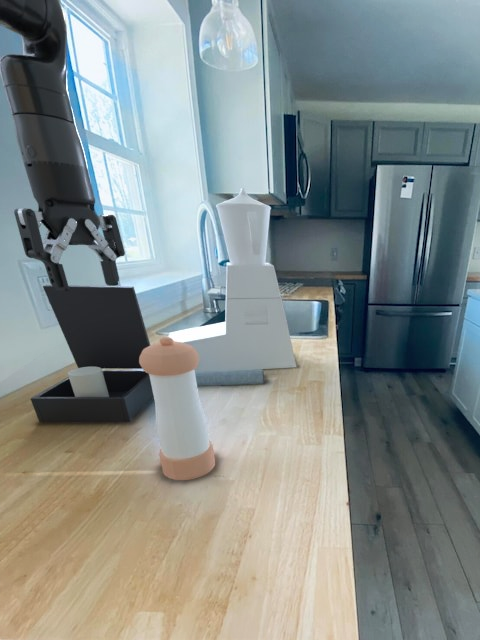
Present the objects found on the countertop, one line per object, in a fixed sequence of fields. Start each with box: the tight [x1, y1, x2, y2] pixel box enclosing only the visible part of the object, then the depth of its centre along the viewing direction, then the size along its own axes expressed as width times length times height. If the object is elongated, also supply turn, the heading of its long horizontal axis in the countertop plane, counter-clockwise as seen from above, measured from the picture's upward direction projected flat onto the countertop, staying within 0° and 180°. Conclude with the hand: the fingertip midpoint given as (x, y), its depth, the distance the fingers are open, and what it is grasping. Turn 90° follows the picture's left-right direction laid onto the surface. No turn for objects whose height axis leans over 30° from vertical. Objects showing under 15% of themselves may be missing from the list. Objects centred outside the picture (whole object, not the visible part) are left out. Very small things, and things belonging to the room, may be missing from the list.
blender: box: [167, 188, 297, 372], centre depth 90 cm, size 33×18×40 cm, turn 104°
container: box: [67, 367, 109, 397], centre depth 66 cm, size 5×5×8 cm
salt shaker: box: [139, 336, 216, 481], centre depth 49 cm, size 7×7×19 cm
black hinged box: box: [30, 369, 154, 424], centre depth 71 cm, size 16×16×5 cm
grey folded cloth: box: [195, 369, 265, 387], centre depth 84 cm, size 23×7×3 cm, turn 100°
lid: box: [42, 284, 151, 370], centre depth 73 cm, size 16×16×6 cm
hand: (88, 287), depth 58 cm, fingers open, 8 cm apart
